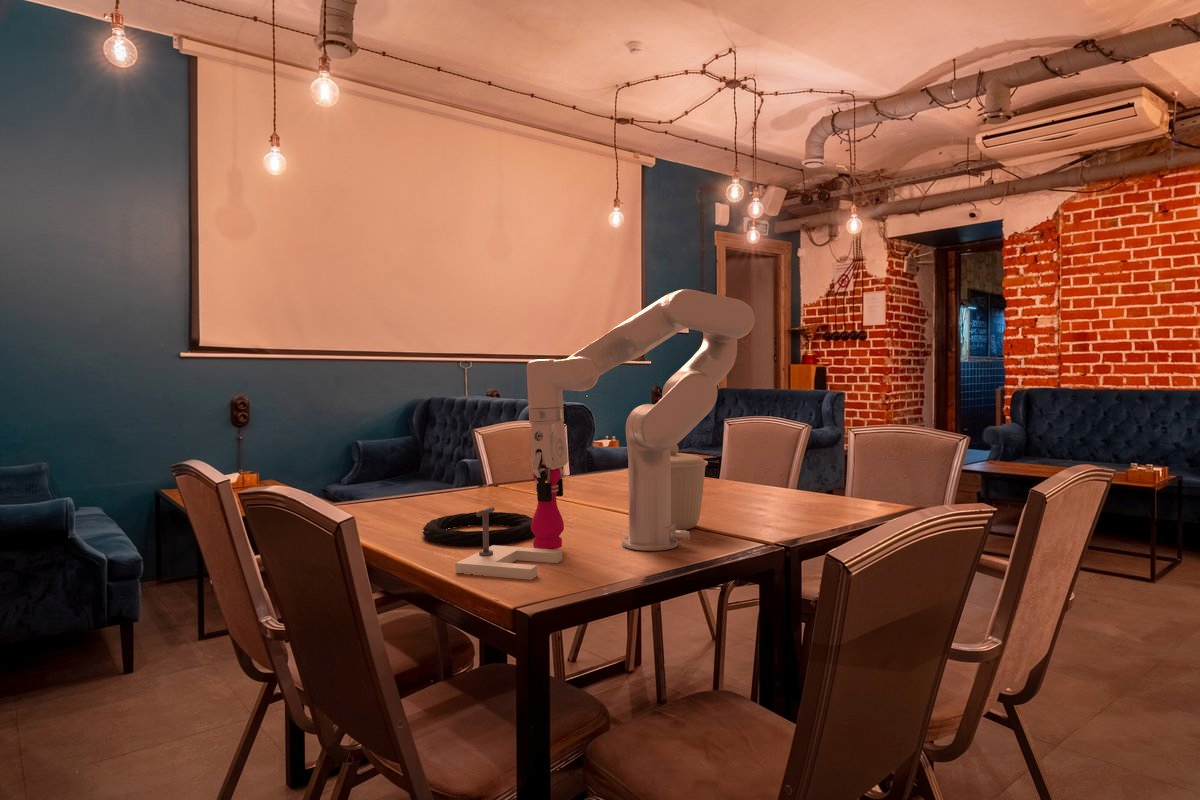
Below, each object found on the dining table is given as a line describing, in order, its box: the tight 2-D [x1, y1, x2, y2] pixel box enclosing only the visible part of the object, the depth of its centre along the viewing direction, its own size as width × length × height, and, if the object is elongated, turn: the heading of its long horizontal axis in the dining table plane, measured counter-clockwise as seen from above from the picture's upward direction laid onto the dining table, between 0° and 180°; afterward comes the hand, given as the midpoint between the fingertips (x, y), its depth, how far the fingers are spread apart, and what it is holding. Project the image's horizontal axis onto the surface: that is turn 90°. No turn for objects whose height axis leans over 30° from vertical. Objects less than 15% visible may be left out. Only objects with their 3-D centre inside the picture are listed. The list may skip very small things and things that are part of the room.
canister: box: [669, 444, 709, 530], centre depth 190 cm, size 18×18×21 cm
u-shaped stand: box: [455, 506, 563, 581], centre depth 153 cm, size 16×16×11 cm
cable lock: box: [422, 511, 536, 548], centre depth 184 cm, size 28×4×30 cm
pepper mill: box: [531, 466, 565, 550], centre depth 166 cm, size 7×7×20 cm
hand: (550, 498), depth 166 cm, fingers closed on pepper mill, 5 cm apart
